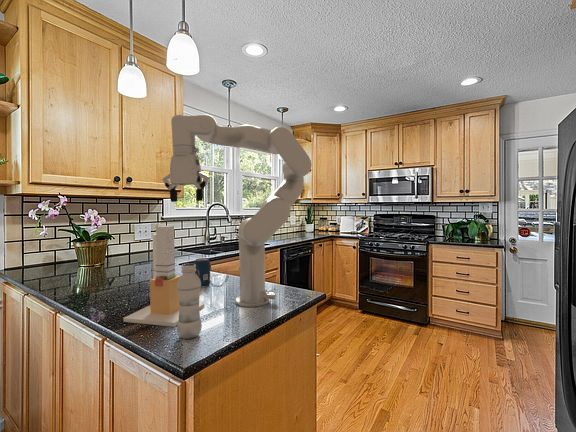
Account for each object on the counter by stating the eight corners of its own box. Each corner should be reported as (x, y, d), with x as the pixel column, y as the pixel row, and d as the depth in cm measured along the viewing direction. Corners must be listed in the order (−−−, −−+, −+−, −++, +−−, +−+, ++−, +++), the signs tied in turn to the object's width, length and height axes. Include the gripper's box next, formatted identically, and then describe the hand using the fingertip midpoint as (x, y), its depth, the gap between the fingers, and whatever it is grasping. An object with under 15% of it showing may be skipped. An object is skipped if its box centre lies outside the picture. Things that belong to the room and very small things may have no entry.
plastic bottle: (172, 341, 80) (171, 267, 80) (184, 330, 87) (183, 262, 86) (194, 342, 79) (193, 267, 79) (205, 332, 86) (205, 263, 85)
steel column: (175, 290, 102) (174, 225, 101) (168, 294, 98) (166, 226, 97) (164, 289, 103) (163, 225, 102) (156, 293, 99) (155, 226, 98)
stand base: (204, 306, 108) (203, 270, 107) (174, 326, 90) (173, 283, 89) (160, 303, 112) (159, 268, 111) (123, 321, 94) (122, 280, 93)
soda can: (192, 285, 137) (191, 259, 136) (206, 282, 141) (206, 257, 141) (198, 288, 131) (197, 261, 131) (212, 285, 136) (212, 259, 135)
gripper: (212, 152, 107) (214, 200, 108) (168, 155, 110) (170, 202, 111) (202, 148, 99) (204, 200, 100) (155, 152, 103) (158, 202, 103)
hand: (186, 201), depth 105 cm, fingers open, 9 cm apart
